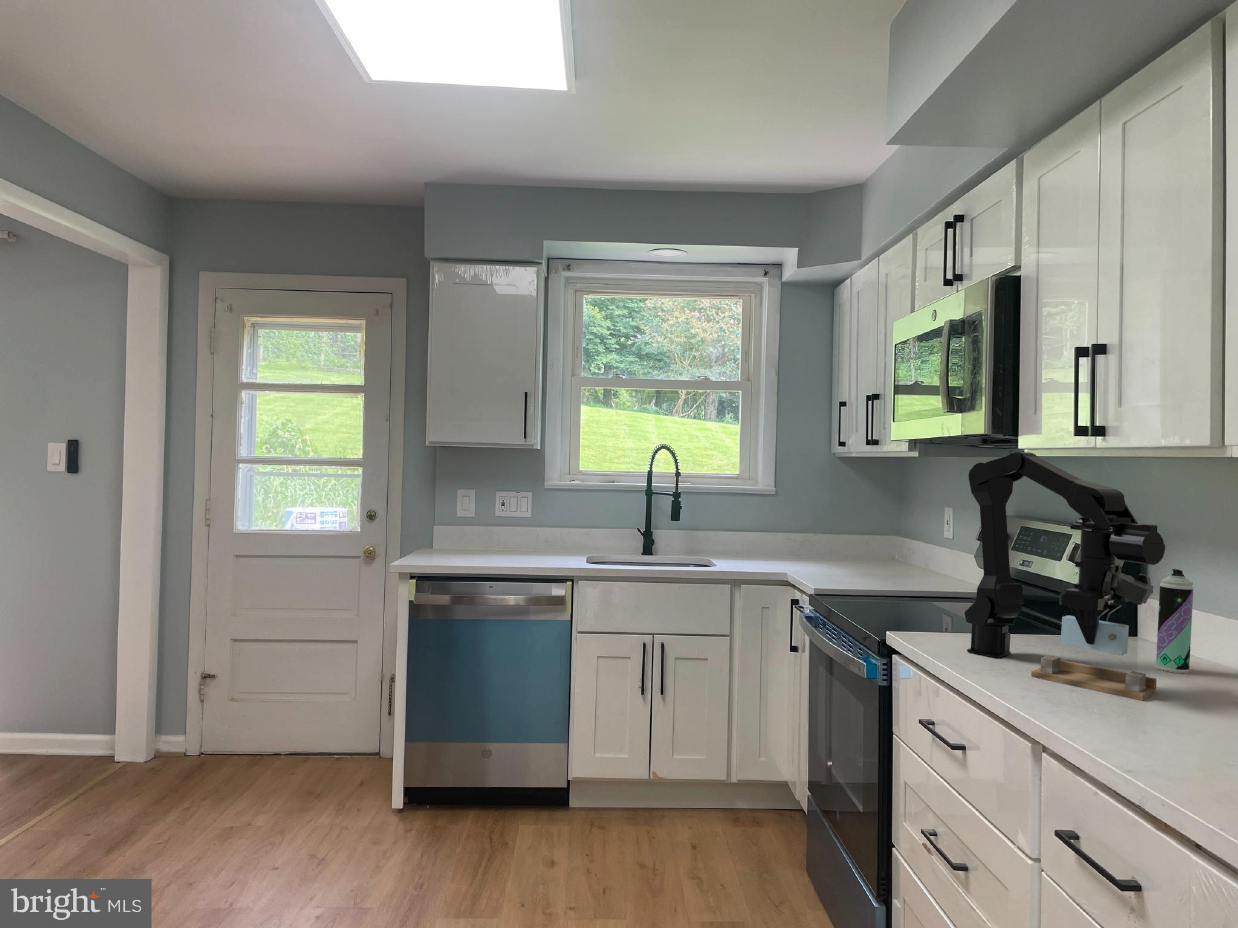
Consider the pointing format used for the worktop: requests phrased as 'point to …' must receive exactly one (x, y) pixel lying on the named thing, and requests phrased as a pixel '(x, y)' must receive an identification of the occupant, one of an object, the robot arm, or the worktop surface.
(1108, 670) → the rail
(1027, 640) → the worktop surface
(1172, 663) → the spray can
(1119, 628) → the door panel
